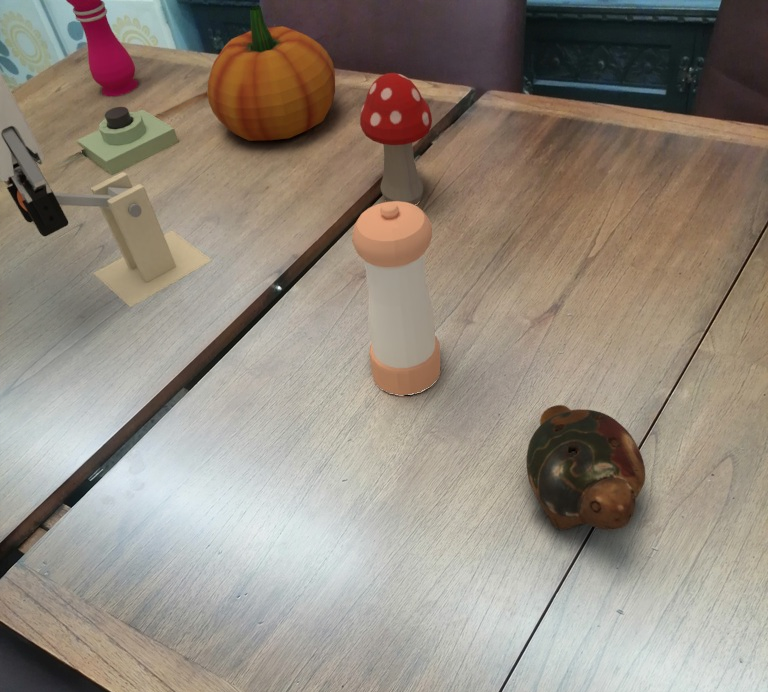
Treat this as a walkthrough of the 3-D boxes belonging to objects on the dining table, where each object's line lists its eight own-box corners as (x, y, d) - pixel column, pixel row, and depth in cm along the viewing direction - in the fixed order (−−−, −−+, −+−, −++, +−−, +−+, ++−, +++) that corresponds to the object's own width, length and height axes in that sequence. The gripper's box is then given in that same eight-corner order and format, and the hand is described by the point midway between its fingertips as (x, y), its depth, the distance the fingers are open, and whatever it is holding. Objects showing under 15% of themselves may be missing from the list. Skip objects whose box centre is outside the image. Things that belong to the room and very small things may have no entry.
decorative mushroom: (448, 203, 91) (444, 80, 79) (389, 226, 89) (376, 104, 77) (414, 170, 96) (405, 50, 84) (358, 190, 95) (341, 71, 83)
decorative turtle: (567, 581, 58) (570, 524, 51) (499, 457, 67) (495, 397, 61) (675, 543, 58) (692, 482, 52) (592, 426, 68) (598, 362, 61)
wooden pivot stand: (134, 314, 84) (90, 227, 75) (96, 280, 89) (51, 194, 80) (215, 268, 88) (183, 179, 78) (175, 238, 93) (140, 150, 83)
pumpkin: (262, 168, 101) (233, 54, 89) (197, 126, 110) (163, 18, 98) (365, 115, 107) (351, 2, 94) (294, 80, 116) (273, -28, 104)
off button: (116, 132, 104) (111, 121, 103) (105, 125, 106) (100, 113, 104) (136, 123, 105) (132, 111, 104) (125, 116, 107) (120, 104, 106)
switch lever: (24, 218, 73) (23, 186, 71) (13, 207, 75) (11, 175, 73) (140, 221, 82) (142, 192, 80) (127, 211, 83) (129, 183, 81)
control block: (112, 175, 104) (100, 149, 101) (82, 154, 109) (70, 128, 106) (179, 142, 108) (169, 115, 105) (147, 122, 113) (138, 97, 110)
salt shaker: (452, 360, 74) (447, 190, 58) (420, 405, 71) (405, 239, 55) (394, 341, 77) (374, 174, 61) (360, 384, 73) (329, 219, 58)
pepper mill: (122, 84, 122) (69, -56, 106) (152, 90, 120) (102, -53, 103) (94, 103, 119) (34, -38, 103) (124, 110, 116) (67, -34, 100)
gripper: (-125, 28, 64) (-12, 211, 79) (-65, 76, 56) (48, 269, 71) (-49, -1, 67) (47, 182, 82) (19, 41, 59) (112, 235, 74)
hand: (47, 221), depth 76 cm, fingers closed on switch lever, 3 cm apart
